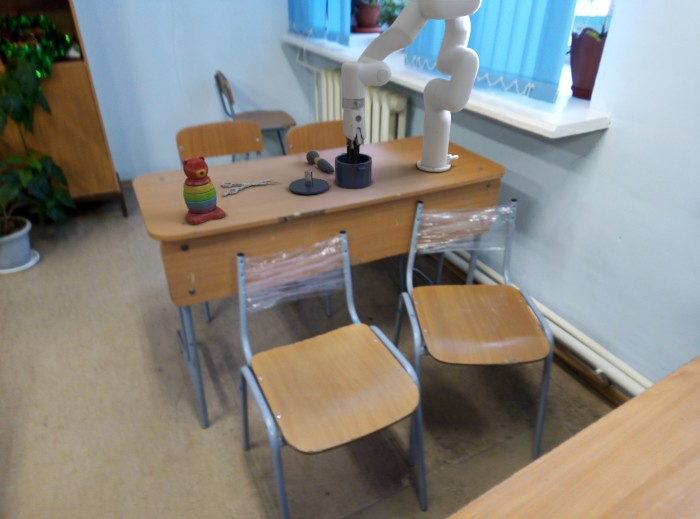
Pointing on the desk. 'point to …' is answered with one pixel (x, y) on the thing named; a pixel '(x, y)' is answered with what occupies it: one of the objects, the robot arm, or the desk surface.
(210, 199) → the stacking bear
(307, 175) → the lid
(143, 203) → the desk surface
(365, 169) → the pot
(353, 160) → the marker
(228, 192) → the scissors
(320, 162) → the grey microphone
